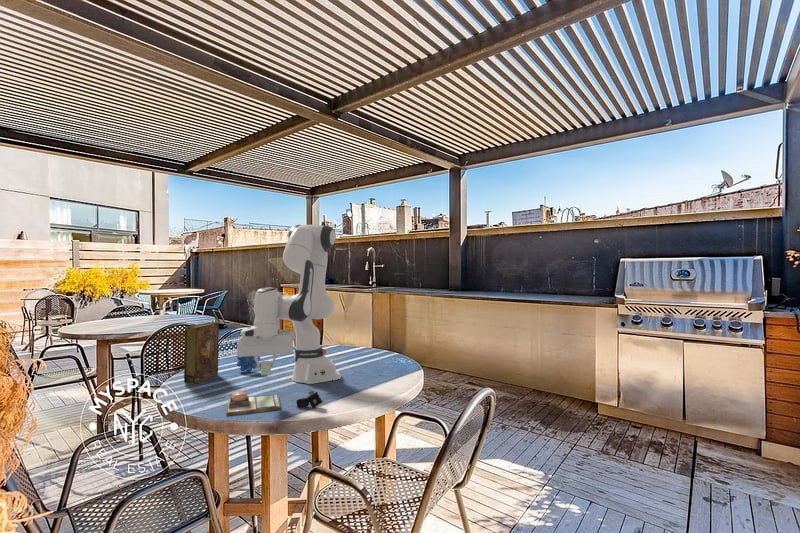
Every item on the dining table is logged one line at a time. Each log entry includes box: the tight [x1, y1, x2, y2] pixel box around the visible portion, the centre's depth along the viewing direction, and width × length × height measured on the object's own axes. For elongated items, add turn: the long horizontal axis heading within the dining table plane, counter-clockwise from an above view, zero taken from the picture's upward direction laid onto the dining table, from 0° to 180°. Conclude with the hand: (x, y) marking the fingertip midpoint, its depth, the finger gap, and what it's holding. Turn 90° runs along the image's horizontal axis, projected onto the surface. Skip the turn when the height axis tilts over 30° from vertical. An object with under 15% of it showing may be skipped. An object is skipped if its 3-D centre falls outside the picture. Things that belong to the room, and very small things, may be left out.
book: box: [183, 321, 220, 385], centre depth 176 cm, size 16×6×25 cm, turn 168°
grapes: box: [236, 356, 261, 373], centre depth 190 cm, size 12×7×12 cm, turn 87°
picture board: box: [226, 393, 282, 416], centre depth 143 cm, size 18×14×3 cm
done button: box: [231, 391, 248, 402], centre depth 142 cm, size 5×5×2 cm
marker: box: [259, 360, 272, 376], centre depth 145 cm, size 3×10×3 cm, turn 22°
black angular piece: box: [295, 390, 324, 409], centre depth 142 cm, size 9×2×6 cm
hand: (265, 366), depth 146 cm, fingers closed on marker, 3 cm apart
